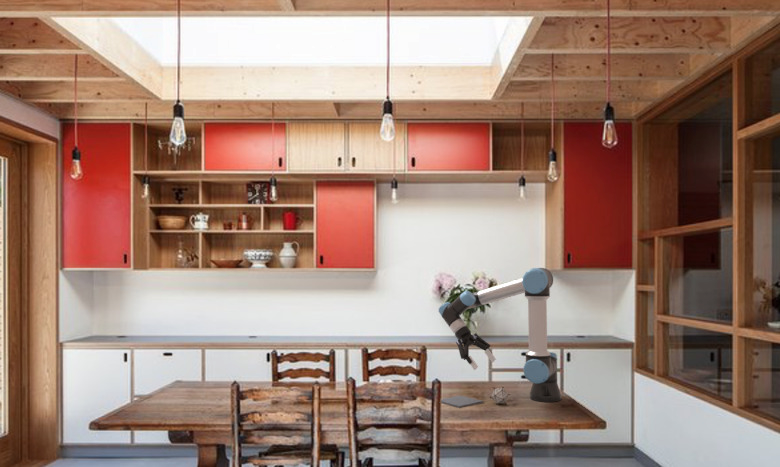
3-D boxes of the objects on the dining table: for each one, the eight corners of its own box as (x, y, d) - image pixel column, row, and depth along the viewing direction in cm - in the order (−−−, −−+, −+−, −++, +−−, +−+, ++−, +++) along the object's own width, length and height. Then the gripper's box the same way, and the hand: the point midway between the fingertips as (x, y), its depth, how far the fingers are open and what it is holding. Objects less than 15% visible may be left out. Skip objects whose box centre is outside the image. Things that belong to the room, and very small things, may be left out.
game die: (503, 412, 299) (508, 398, 293) (486, 405, 301) (491, 391, 295) (508, 400, 306) (513, 386, 300) (491, 393, 308) (496, 379, 303)
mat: (460, 397, 317) (460, 395, 317) (483, 402, 304) (483, 401, 304) (436, 401, 307) (436, 400, 307) (459, 407, 294) (459, 406, 294)
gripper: (472, 328, 327) (497, 361, 318) (439, 340, 311) (464, 375, 302) (480, 319, 323) (505, 353, 313) (447, 331, 306) (472, 367, 297)
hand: (485, 364), depth 307 cm, fingers open, 13 cm apart
